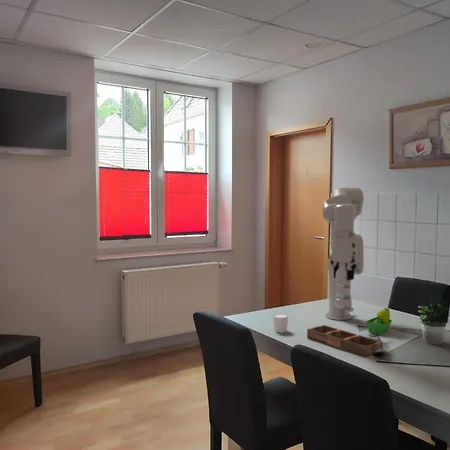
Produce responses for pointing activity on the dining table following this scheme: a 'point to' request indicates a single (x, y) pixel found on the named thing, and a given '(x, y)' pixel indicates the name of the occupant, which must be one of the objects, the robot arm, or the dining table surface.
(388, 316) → the fruit basket
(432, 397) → the dining table surface
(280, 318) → the white cup
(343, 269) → the plastic bottle
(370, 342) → the wooden compartment tray
